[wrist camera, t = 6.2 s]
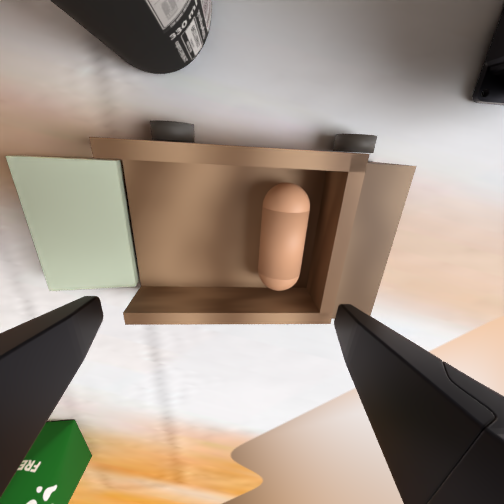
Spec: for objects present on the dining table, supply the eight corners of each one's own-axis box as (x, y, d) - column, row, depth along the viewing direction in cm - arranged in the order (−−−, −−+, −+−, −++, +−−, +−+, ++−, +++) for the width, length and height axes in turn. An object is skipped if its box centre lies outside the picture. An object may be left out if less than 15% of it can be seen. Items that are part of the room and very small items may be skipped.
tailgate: (115, 160, 15) (5, 156, 14) (135, 286, 19) (49, 291, 18) (121, 159, 17) (20, 155, 15) (139, 278, 20) (58, 282, 19)
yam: (305, 180, 17) (320, 187, 14) (292, 277, 20) (302, 299, 18) (261, 178, 17) (267, 185, 14) (255, 277, 20) (258, 299, 17)
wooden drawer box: (380, 138, 17) (425, 135, 13) (340, 301, 23) (364, 334, 19) (123, 121, 16) (84, 112, 12) (148, 300, 21) (127, 336, 17)
